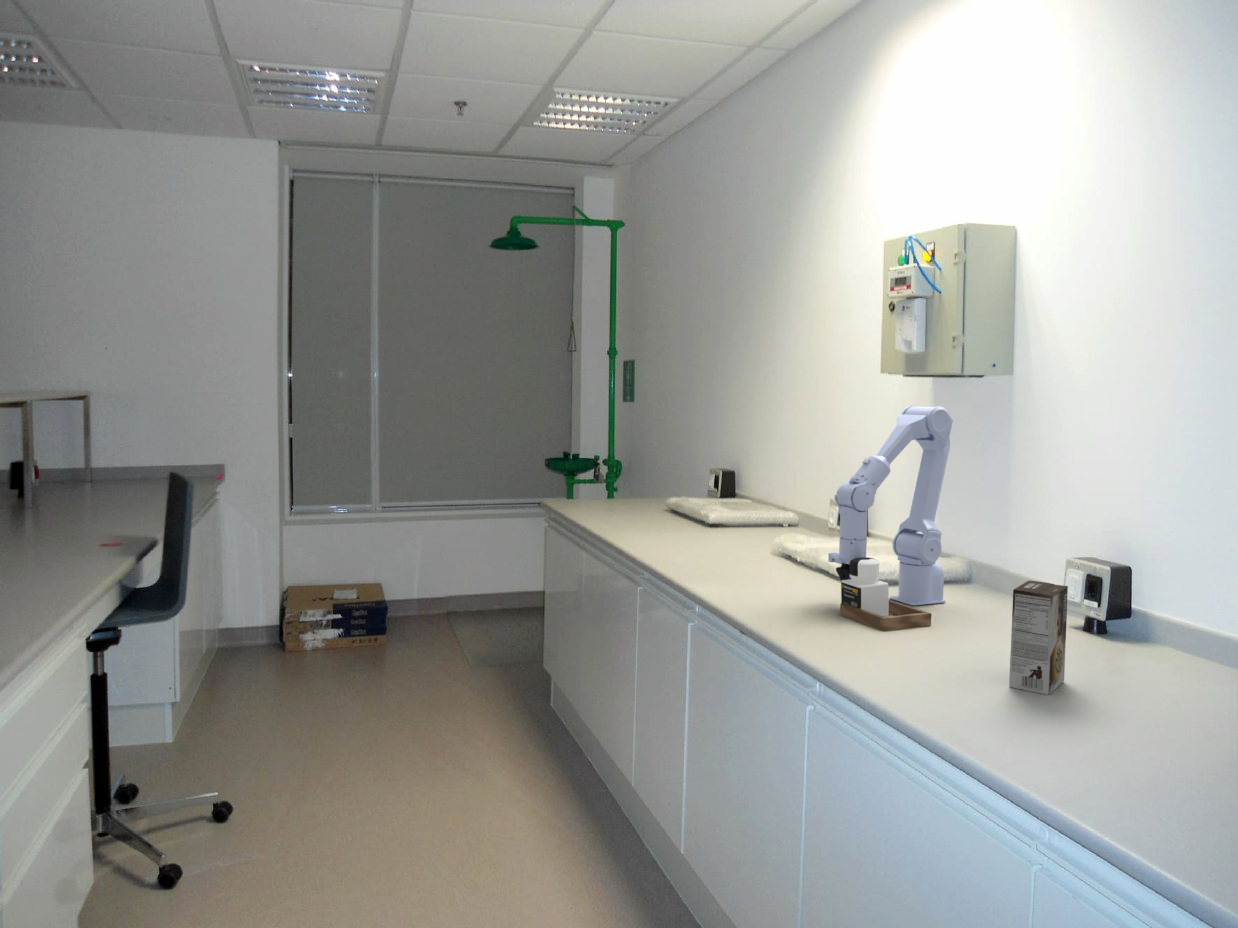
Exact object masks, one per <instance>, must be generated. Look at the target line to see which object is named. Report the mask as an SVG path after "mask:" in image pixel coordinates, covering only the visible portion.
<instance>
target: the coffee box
mask: <svg viewBox="0 0 1238 928" xmlns="http://www.w3.org/2000/svg"><path fill="white" fill-rule="evenodd" d="M1068 588H1069V586H1068V585H1062V584H1055V583H1051V582H1045V581H1037V580H1027V581H1025V582H1023V583H1022V584H1020V585H1018V586H1017V587H1015V588H1013V590H1012V608H1011V609H1012V614H1011V632H1010V633H1011V635H1010V636H1011V637H1010V638H1011V639H1010V657H1009V683H1008V686H1009V688H1013V689H1018V690H1021V691H1027V692H1033V693H1037V694H1042V695H1047V696H1049V695H1051V694H1052V693H1053V692H1054V691H1055V690H1056V689H1057V688H1058V687H1059V686H1061V684H1063V682H1065V671H1066V670H1065V669H1066V666H1065V664H1066V642H1067V621H1068V620H1067V618H1068V617H1067V615H1068Z"/></svg>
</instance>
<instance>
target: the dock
mask: <svg viewBox="0 0 1238 928" xmlns="http://www.w3.org/2000/svg"><path fill="white" fill-rule="evenodd" d="M839 606H840V607H839V616H841V617H843V618H846V619H850V620H853V621H854V622H858V623H861V624H863V625H866V626H869V627H872V628H874V629H877V630H880V631H882V632H886V631H893V630H894V631H895V630H902V629H904V630H905V629H912V628H921V627H928V626H932V612H928V611H925V610H923V609H920V608H916V607H914V606H911V605H910V606H909V605H908V604H905V603H901V602H898V601H897V602H896V601H895V600H892V599H889V614H890V613H891V616H889V615H888V616H885V617H883V616H880V615H877V614H874V613H872V612H869V611H866V610H863V609H860V608H857V607H854V606H851V605H848V604H845V603H841V602H840V604H839ZM896 615H897V616H896Z"/></svg>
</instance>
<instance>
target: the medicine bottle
mask: <svg viewBox="0 0 1238 928" xmlns="http://www.w3.org/2000/svg"><path fill="white" fill-rule="evenodd" d="M850 578H851V579H848V580H842V581H841V580H840V588H841V589H840V594H841V596H840V599H841V601H840V603H845V604H848V605H851V606H854V607H857V608H860V609H863V610H866V611H869V612H872V613H874V614H877V615H880V616H883V617H889V614H890V613H889V600H890V596H889V595H890V594H889V583H888V582H886V581H882V580H879V579H880V561H879V560H878V559H876V558H873V557H867V556H866V557H859V558H854V559H852V560H851V561H850Z"/></svg>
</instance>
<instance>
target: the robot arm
mask: <svg viewBox="0 0 1238 928" xmlns="http://www.w3.org/2000/svg"><path fill="white" fill-rule="evenodd" d="M953 423H954V422H953V418H952V417H951V415H950V413H949V412H948V410H947V409H946V408H945V407H943V406H917V405H909V406H906V407H905V408H904V409H903V411H902V412H901V414H900V415H898V417H896V426H895V428H894V429H893V431H892V432H891V433H890V434H889V436H888V438H887V439H886V441H885V442H884V444H883V445H882V446H881V448H880V449H879V451H878V452H877V454H876V455H869V456H868V457H867V458H864V459H863V461H862V464H861V465H860V467H859V468H858V469H857V471H856V472H855V473H854V475H851V477H850V480H849V481H847V482H845V483H843V484H841V485H840V486H838V489H837V491H836V494H834V501H835V504H836V505H837V506H838V514H839V518H840V519H839V549H838V552H829V553H828V556H827V557H828V562H829V563H836V564H839V565H840V566H837V567H836V568H835V571H836V573H837V575H838V577H839V579H840V582H841V581H842V580H848V579H851V578H850V561H851V560H852V559H854V558H859V557H867V547H868V546H867V543H868V542H867V539H868V513H869V512H868V510H869V509H870V508H871V507H872V506H874V502H875V497H876V496H875V495H876V494H877V492H878V491H877V490H878V489H879V487H880V486H881V485H882V484H883V483H884V481H885V480H886V479H887V477H889V475H890V474H891V467H890V465H891V463H893V461H894V460H895V459H896V458H897V457H898V456H899V455H900V454H901V452H903V450H904V449H905V448H906V447H907V446H908V445H909V444H910V442H912V441H915V442H917V443H918V444H919V446H920V447H921V449H922V454H921V458H920V459H921V460H920V465H919V469H918V474H917V479H916V483H915V488H914V492H913V497H912V502H911V506H910V507H911V508H910V510H909V511H910V512H909V516H908V517H907V518H906V519H905V520H904V521H902V522H901V523H900V524H899V527H898V531H897V532H896V534H895V536H894V538H893V540H892V550H893V552H894V554H895V555H896V557H897V561H899V567H898V568H899V569H898V571H899V573H898V595H892V596H889V600H892V601H897V602H899V603H902V604H905V605H908V606H909V605H910V606H912V607H914V606H915V607H916V606H923V605H924V606H925V605H932V604H940V603H941V604H943V603H946V599H944V587H945V586H944V581H945V573H944V570H943V567H942V565H941V564H940V563H939V562H937V561H938V560H939V558H940V556H941V553H942V543H941V539H942V534H943V533H942V531H941V529H939V527H938V525H936V523H935V522H936V521H935V518H936V515H937V510H938V506H939V501H940V497H941V496H940V495H941V491H942V486H943V483H944V482H943V481H944V477H945V473H946V467H947V464H948V463H947V462H948V459H949V454H950V450H951V449H950V448H951V440H950V439H951V438H950V437H951V436H950V435H951V431H952V425H953ZM918 532H919V533H918Z"/></svg>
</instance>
